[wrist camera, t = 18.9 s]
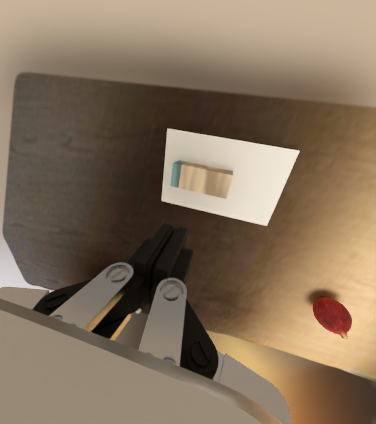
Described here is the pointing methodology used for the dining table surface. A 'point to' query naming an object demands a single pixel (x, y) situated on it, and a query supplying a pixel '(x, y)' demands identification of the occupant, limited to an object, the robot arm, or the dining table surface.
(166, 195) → the mat
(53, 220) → the dining table surface
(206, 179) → the block
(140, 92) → the dining table surface
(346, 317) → the onion
